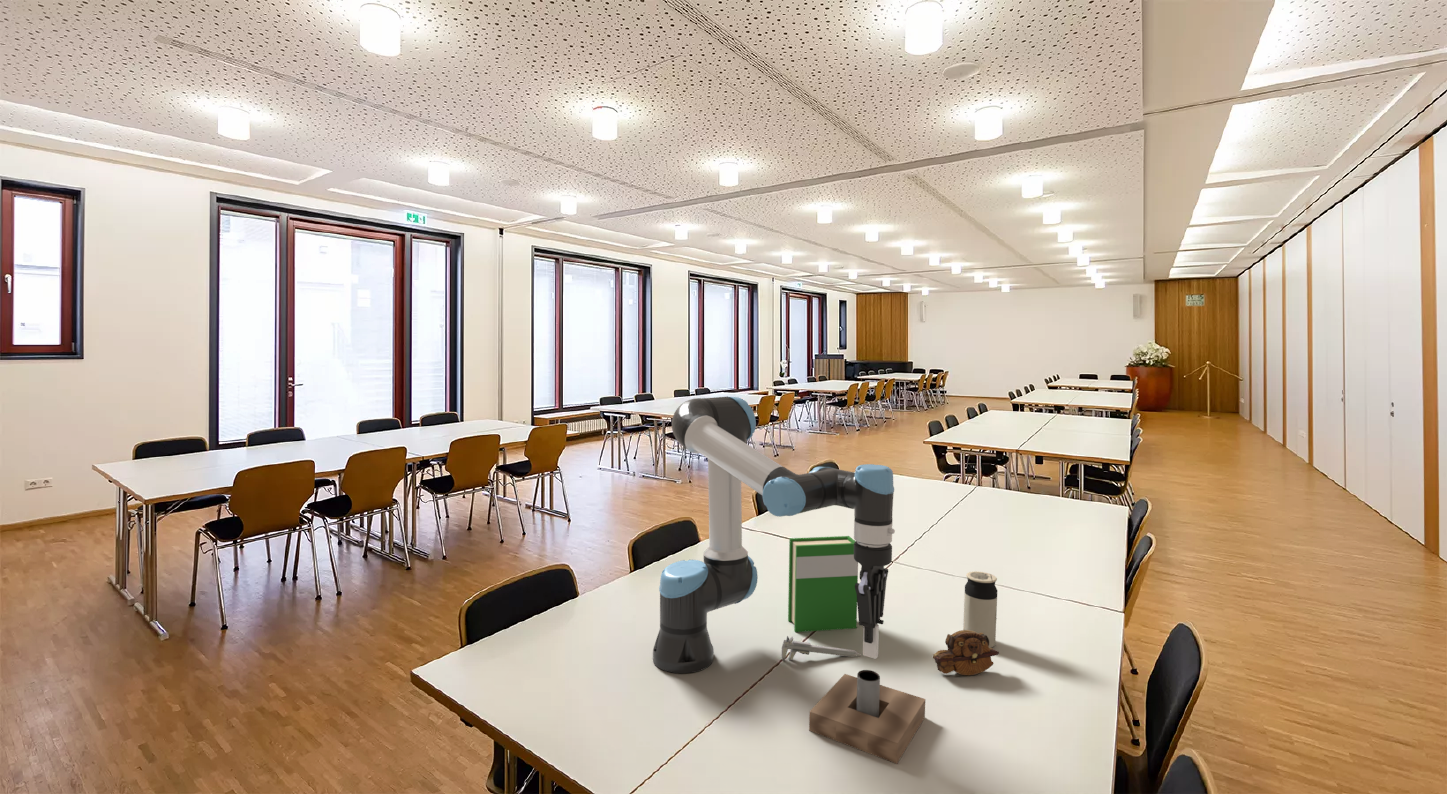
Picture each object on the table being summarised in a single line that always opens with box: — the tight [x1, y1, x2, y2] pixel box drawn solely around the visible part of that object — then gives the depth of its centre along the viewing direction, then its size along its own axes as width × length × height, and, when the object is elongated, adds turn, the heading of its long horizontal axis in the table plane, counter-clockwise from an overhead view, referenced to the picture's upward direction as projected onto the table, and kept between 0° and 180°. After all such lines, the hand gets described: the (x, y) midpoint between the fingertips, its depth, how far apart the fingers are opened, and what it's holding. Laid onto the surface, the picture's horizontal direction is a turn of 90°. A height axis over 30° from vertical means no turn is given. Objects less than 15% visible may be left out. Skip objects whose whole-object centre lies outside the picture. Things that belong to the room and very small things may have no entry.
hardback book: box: [787, 535, 859, 633], centre depth 174 cm, size 18×7×24 cm, turn 99°
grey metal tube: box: [856, 669, 881, 718], centre depth 127 cm, size 4×4×10 cm
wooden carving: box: [932, 629, 1000, 676], centre depth 148 cm, size 16×5×10 cm, turn 105°
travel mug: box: [962, 570, 998, 648], centre depth 164 cm, size 8×8×18 cm
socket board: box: [808, 673, 926, 764], centre depth 127 cm, size 18×18×4 cm
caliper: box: [781, 635, 862, 662], centre depth 155 cm, size 20×1×6 cm, turn 99°
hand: (870, 655), depth 126 cm, fingers closed
